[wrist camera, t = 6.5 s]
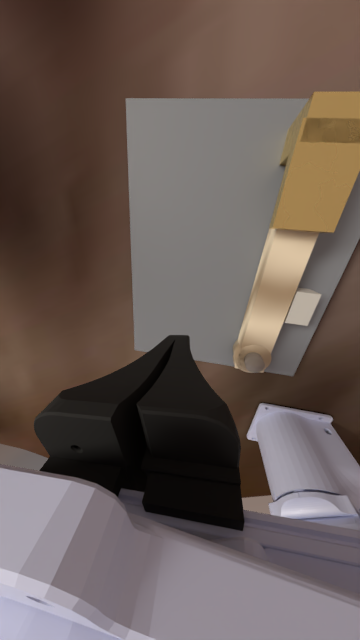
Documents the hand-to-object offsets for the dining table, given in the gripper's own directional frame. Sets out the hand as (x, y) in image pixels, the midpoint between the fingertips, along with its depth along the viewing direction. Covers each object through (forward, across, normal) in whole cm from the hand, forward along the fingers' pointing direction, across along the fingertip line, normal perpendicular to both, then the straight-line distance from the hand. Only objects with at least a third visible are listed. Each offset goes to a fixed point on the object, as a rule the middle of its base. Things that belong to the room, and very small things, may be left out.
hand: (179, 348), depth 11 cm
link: (+8, -8, -1) cm, 11 cm away
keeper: (+8, -9, -10) cm, 16 cm away
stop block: (+9, -10, 0) cm, 14 cm away
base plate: (+9, -4, -4) cm, 11 cm away
